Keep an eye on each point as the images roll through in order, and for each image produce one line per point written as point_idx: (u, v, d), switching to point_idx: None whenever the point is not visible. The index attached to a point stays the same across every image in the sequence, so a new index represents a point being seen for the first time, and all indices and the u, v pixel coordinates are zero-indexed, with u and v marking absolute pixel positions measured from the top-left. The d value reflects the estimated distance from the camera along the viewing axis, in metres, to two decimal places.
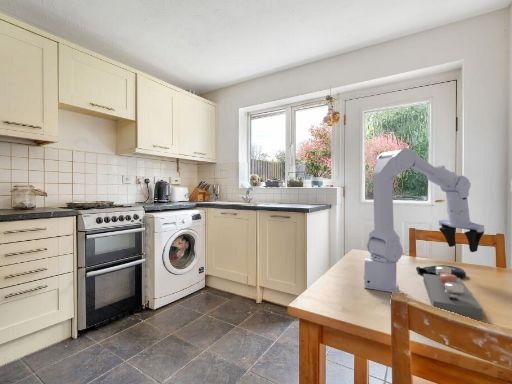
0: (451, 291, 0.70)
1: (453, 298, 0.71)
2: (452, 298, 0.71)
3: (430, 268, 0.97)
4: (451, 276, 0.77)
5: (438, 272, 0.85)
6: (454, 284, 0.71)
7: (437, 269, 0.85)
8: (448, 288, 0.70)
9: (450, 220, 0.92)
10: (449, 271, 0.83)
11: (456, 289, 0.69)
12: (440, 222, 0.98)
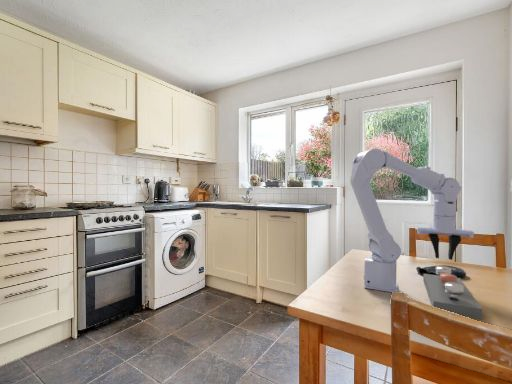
0: (451, 291, 0.70)
1: (453, 298, 0.71)
2: (452, 298, 0.71)
3: (430, 268, 0.97)
4: (451, 276, 0.77)
5: (438, 272, 0.85)
6: (454, 284, 0.71)
7: (437, 269, 0.85)
8: (448, 288, 0.70)
9: (442, 226, 0.83)
10: (449, 271, 0.83)
11: (456, 289, 0.69)
12: (420, 230, 0.87)
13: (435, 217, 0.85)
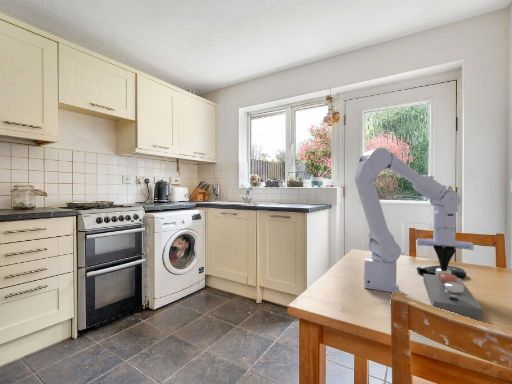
0: (451, 291, 0.70)
1: (453, 298, 0.71)
2: (452, 298, 0.71)
3: (431, 268, 0.97)
4: (451, 276, 0.77)
5: (438, 274, 0.85)
6: (454, 284, 0.71)
7: (437, 271, 0.85)
8: (448, 288, 0.70)
9: (441, 238, 0.83)
10: (449, 273, 0.83)
11: (456, 289, 0.69)
12: (420, 241, 0.87)
13: (435, 229, 0.85)
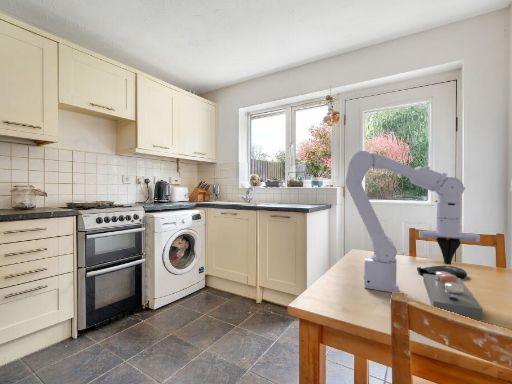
0: (451, 291, 0.70)
1: (453, 298, 0.71)
2: (452, 298, 0.71)
3: (431, 268, 0.97)
4: (451, 276, 0.77)
5: (438, 277, 0.85)
6: (454, 284, 0.71)
7: (437, 274, 0.85)
8: (448, 288, 0.70)
9: (446, 229, 0.77)
10: None
11: (456, 289, 0.69)
12: (422, 233, 0.81)
13: (438, 220, 0.79)
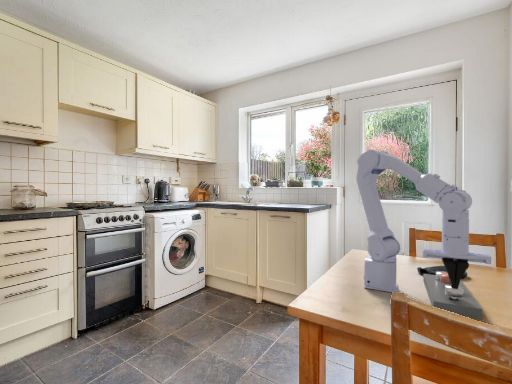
0: (451, 293, 0.70)
1: None
2: None
3: (431, 268, 0.97)
4: None
5: (438, 277, 0.85)
6: None
7: (437, 274, 0.85)
8: (448, 290, 0.70)
9: (452, 249, 0.69)
10: None
11: (456, 291, 0.69)
12: (426, 253, 0.73)
13: (444, 238, 0.70)
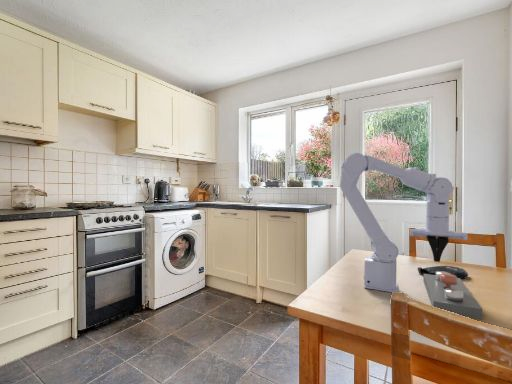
0: (451, 297, 0.70)
1: None
2: None
3: (432, 269, 0.96)
4: (451, 276, 0.77)
5: (438, 277, 0.85)
6: (454, 291, 0.71)
7: (437, 274, 0.85)
8: (448, 294, 0.70)
9: (434, 228, 0.80)
10: None
11: (456, 295, 0.69)
12: (412, 231, 0.84)
13: (428, 218, 0.82)
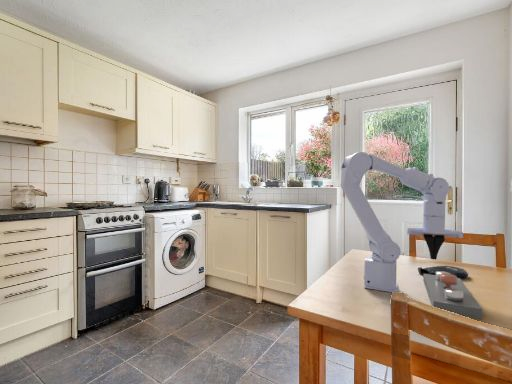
0: (451, 297, 0.70)
1: None
2: None
3: (432, 269, 0.96)
4: (451, 276, 0.77)
5: (438, 277, 0.85)
6: (454, 291, 0.71)
7: (437, 274, 0.85)
8: (448, 294, 0.70)
9: (431, 226, 0.82)
10: None
11: (456, 295, 0.69)
12: (410, 230, 0.86)
13: (425, 217, 0.84)
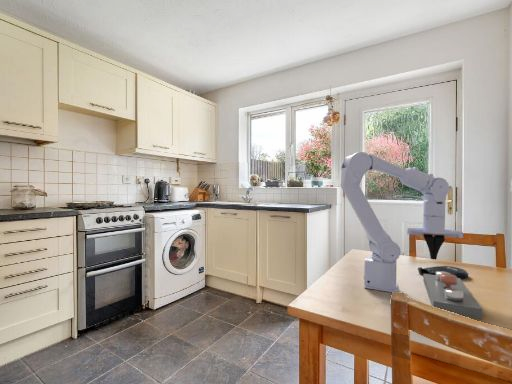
0: (451, 297, 0.70)
1: None
2: None
3: (432, 269, 0.96)
4: (451, 276, 0.77)
5: (438, 277, 0.85)
6: (454, 291, 0.71)
7: (437, 274, 0.85)
8: (448, 294, 0.70)
9: (431, 226, 0.82)
10: None
11: (456, 295, 0.69)
12: (410, 230, 0.86)
13: (425, 217, 0.84)
